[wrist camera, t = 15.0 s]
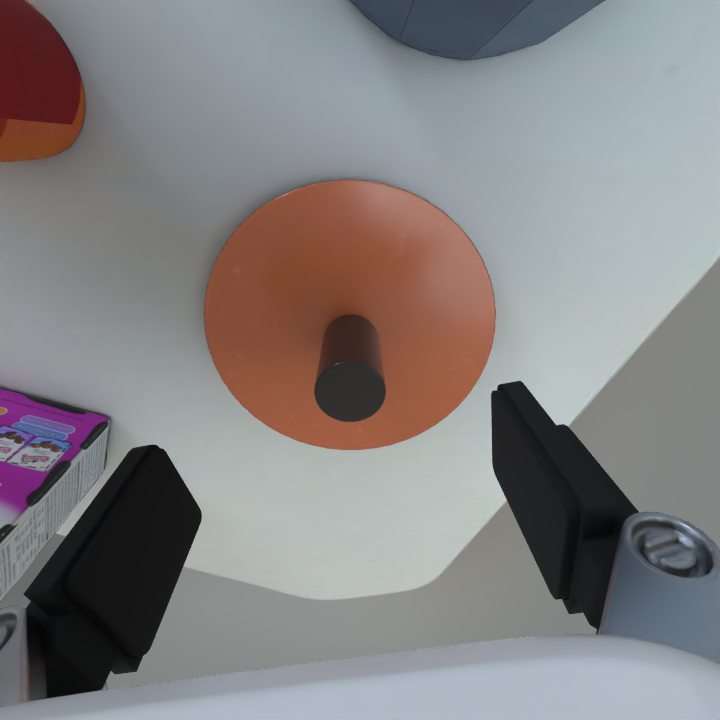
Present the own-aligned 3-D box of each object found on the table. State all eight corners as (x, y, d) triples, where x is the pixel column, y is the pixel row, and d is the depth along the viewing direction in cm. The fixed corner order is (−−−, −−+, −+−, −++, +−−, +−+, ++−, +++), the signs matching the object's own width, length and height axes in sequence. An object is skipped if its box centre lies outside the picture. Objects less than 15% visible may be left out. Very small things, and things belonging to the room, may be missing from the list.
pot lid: (163, 215, 17) (72, 239, 11) (483, 146, 16) (553, 135, 10) (262, 453, 24) (234, 540, 18) (491, 416, 22) (535, 497, 17)
